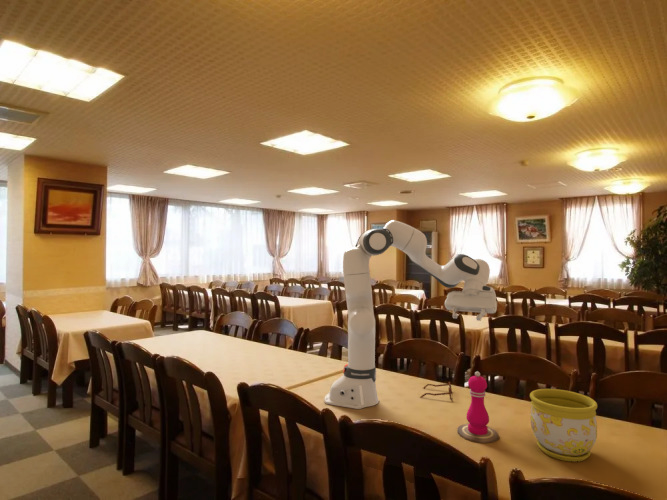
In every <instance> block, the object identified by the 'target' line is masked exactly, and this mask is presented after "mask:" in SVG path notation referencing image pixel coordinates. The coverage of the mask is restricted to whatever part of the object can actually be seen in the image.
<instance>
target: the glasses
mask: <svg viewBox="0 0 667 500" xmlns="http://www.w3.org/2000/svg"><path fill="white" fill-rule="evenodd" d="M428 386H431V387H437V388H438V387H444V386H445V387H446V386H449V387H448V392H441V393H439V392H438V393H433V392H425V393H423V394H422V395H421V396H419V398H423V397H425V396H427V395H428V396H429V395H430V396H443V395H444V396H445V395H449V398H450V400H451V401H452V400H453V399H452V394H453V391H452V390H453V389H452V384H451V381H448V383H443V384H432V383H428V384H426V385H424V387H422V389H423V388H424V389H426V388H427V387H428Z"/></svg>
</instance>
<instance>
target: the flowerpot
mask: <svg viewBox="0 0 667 500" xmlns="http://www.w3.org/2000/svg"><path fill="white" fill-rule="evenodd" d="M529 398H530V400H531V401H530V405H531V407H530V408H531V409H530V415H529V417H530V419H529V420H530V426H531V430H532V433H533V435H534V436H535V438H536V439H537V440H536V444H537V446H538V447H539V449H540V450H541V452H543V453H544V454H546V455H548V456H549V457H552V458H553V459H556V460H561V461H565V462H571V461H572V462H577V461H578V462H582V461H583V462H584V461H585V460H587V458H589V457H590V456H591V449H592V448H593V447H594V445H595V443H596V441H597V438H598V423H597V418H596V415H597V412H596V410H597V409H598V403H597V402H596V401H595V400H594V399H593V398H591V397H590V396H588V395H586V394H585V395H584V394H583V393H578V392H575V391H570V390H565V389H558V388H539V389H534V390H532V391H531V392H530V393H529ZM578 462H577V463H578Z"/></svg>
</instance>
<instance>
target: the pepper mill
mask: <svg viewBox="0 0 667 500" xmlns="http://www.w3.org/2000/svg"><path fill="white" fill-rule="evenodd" d="M467 385H468V387H469V396H470V397H471V398H470V399H471V400H470V401H471V403H470V405H469V407H468V409H467V412H466V421H468V423H467V424H468V430H469V432H471V433H473V434H476V435H485V434H487V433H488V427H489V426H488V424H489V423H490V417H489V413H488V410H487V408H486V406H485V397H486V393H487V392H486V390H487V388H488V383H487V380H486V379H485V377H483V376H481V373H480V372H479V371H478V370H477V371H475V372H474V375H472V376H470V377H469V379H468V383H467ZM487 426H488V427H487Z"/></svg>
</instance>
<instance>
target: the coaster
mask: <svg viewBox="0 0 667 500" xmlns="http://www.w3.org/2000/svg"><path fill="white" fill-rule="evenodd" d="M468 424H469V423H464V424H461V425H458V427H457V428H456V429H457V430H456V431H457V435H459V436H460V437H461V438H463V439H464V440H466V441H469V442H472V443H473V442H474V443H479V444H488V443H489V444H490V443H495V442H496V441H498V439H499V433H498V431H496V429H494V428H492V427H490V426H488V425H486V426H487V427H488V433H487V434H485V435H476V434H473V433H471V432H469V430H468Z"/></svg>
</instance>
